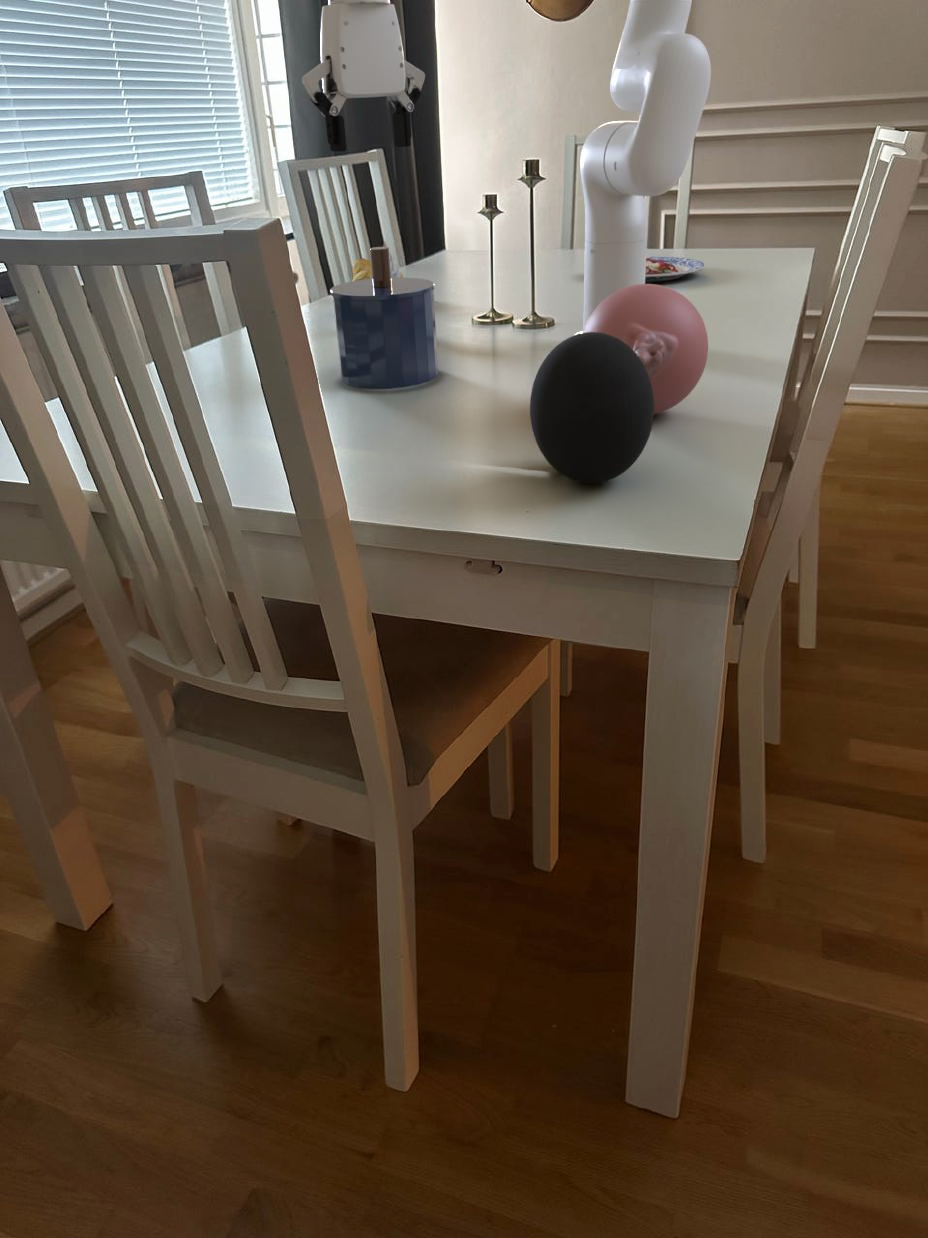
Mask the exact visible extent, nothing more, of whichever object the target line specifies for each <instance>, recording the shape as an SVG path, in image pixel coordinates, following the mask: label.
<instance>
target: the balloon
mask: <svg viewBox="0 0 928 1238" xmlns="http://www.w3.org/2000/svg"><path fill="white" fill-rule="evenodd" d="M582 331H583V332H582V333H586V332H600V333H604V334H608V335H611V336H614V337H616V338H618V339H620V340H621V341H623V342H624V343H625V344H627V345H628V346H629V347H630V348H631V349H632V350H633V351H634V352H635V353H636V354H637V356H638V357H639V358H640V360H641V361H642V363H643V365H644V366H645V368H646V371H647V373H648V376H649V378H650V382H651V386H652V390H653V396H654V415H657V414H661V413H663V412H666V411H668V410H670V409H672V408H674V407H676V406H677V405H678V404H680V403H681V402H682V401H683V400H685V399H686V398H687V397H688V396H689V395H690V394H691V393H692V391H694V389H695V388H696V386H697V385H698V383H699V382H700V380H701V378H702V377H703V374H704V371H705V368H706V365H707V360H708V357H709V356H708V355H709V354H708V353H709V337H708V332H707V327H706V325H705V322H704V320H703V317H702V316H701V313H700V311H698V309H697V307H695V305H694V304H693V303H692V301H690V300H689V299H688V298H687V297H686V296H685V295H683V294H682V293H680V292H678V291H677V290H675V289H673V288H670V287H669V286H668V287H667V286H665V285H660V284H656V283H655V284H654V283H645V284H638V285H633V286H629V287H626V288H623V289H621V290H619V291H617V292H615V293H613V294H611V295H610V296H609V297H607V298H606V299H605V300H603V301H602V302H601V303H600V304H599V305H598V306H597V307H596V309H595V310H594V311H593V312H592V314H591V315H590V317H589V319H588V320H587V322H586V324H585V327H584V329H583V328H582Z"/></svg>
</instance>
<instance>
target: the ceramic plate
mask: <svg viewBox="0 0 928 1238" xmlns="http://www.w3.org/2000/svg"><path fill="white" fill-rule="evenodd" d="M705 268H706V263H705V262H703V261H701V260H698V259H693V258H687V257H677V256H657V255H656V256H646V273H645V283H656V282H667V281H673V280H676V279H680V278H682V277H684V276H686V275H687V274H692V273H696V272H699V271H702V270H703V269H705Z"/></svg>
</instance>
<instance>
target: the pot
mask: <svg viewBox="0 0 928 1238" xmlns="http://www.w3.org/2000/svg"><path fill="white" fill-rule="evenodd" d="M434 292H435V290H432V291H431V292H429V293H426V294H422V295H418V296H413V297H407V298H400V299H391V300H372V301H360V300H345V299H339V298H335V297H333V296H332V300H333V310H334V318H335V328H336V337H337V348H338V356H339V365H340V375H341V381H342V383H344V384H346V385H347V386H350V387H354V388H358V389H367V390H368V389H370V390H391V389H400V388H407V387H413V386H418V385H422V384H425V383H428V382H430V381H432V380H434V379H435V378H437V376H438V375H439V364H438V363H439V362H438V346H437V344H438V343H437V329H436V312H435V310H436V309H435V308H436V307H435V293H434Z"/></svg>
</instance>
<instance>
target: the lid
mask: <svg viewBox="0 0 928 1238" xmlns="http://www.w3.org/2000/svg"><path fill="white" fill-rule="evenodd" d="M389 251H390V248H389V247H388V246H387V247H383V246H375V247H371V248H370V249H369V254H370V255H369V256H370V261H371V268H372V279H365V280H358V281H353V280H352V281H348V282H342V283H340V284H339V283H338V284H336V285H334V286H332V287H331V288H330V289H329V290H330V291H329V292H330V296H331V297H332V298H333V297H335V298H339V299H345V300H360V301H372V300H391V299H400V298H407V297H413V296H418V295H422V294H426V293H429V292H431V291H432V290H433V291H435V282H434V281H432V280H430V279H425V278H420V277H419V278H418V277H404V276H403V277H394V278H391V270H390V257H389Z"/></svg>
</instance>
